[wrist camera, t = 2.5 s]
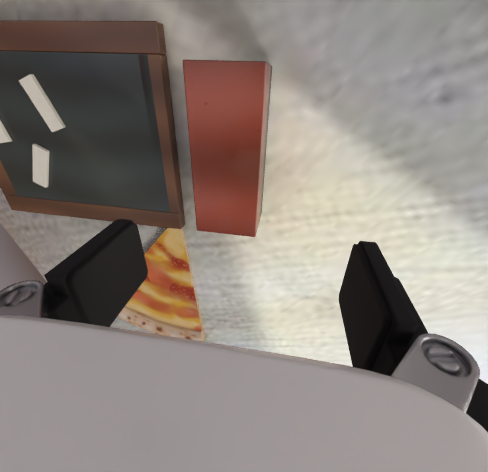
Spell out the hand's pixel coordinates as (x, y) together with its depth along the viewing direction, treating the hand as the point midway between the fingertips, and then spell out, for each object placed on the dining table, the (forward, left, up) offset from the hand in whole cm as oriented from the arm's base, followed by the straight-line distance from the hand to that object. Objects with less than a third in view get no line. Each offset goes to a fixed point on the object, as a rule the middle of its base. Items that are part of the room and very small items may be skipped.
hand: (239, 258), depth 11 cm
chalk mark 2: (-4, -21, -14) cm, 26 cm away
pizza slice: (+20, -11, -16) cm, 28 cm away
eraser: (-1, -3, -15) cm, 16 cm away
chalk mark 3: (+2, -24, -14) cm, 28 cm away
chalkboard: (-1, -20, -15) cm, 25 cm away
